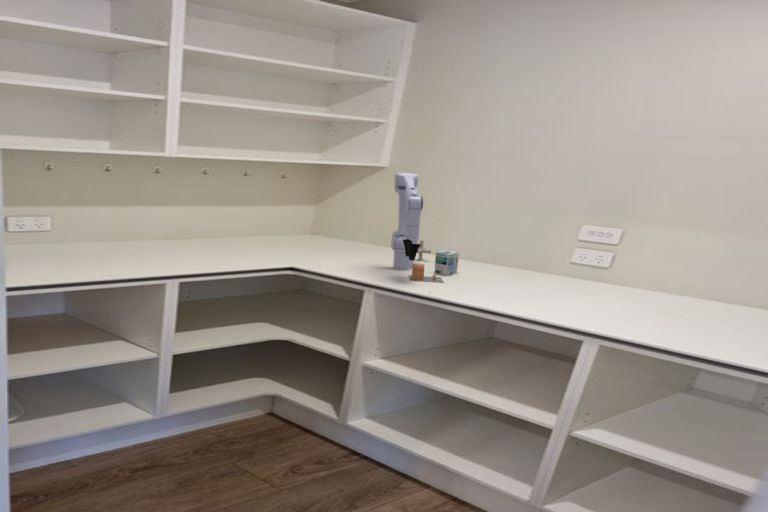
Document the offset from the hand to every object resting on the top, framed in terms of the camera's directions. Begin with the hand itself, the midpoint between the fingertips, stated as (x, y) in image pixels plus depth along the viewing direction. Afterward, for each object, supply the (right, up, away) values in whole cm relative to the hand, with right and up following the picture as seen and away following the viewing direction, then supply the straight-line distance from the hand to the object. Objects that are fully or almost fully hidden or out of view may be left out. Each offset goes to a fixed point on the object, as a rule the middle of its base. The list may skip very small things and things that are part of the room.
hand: (410, 258), depth 216 cm
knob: (+3, -8, +2) cm, 9 cm away
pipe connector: (+8, -1, +49) cm, 50 cm away
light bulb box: (+17, -8, +18) cm, 26 cm away
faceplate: (+7, -10, +3) cm, 12 cm away
